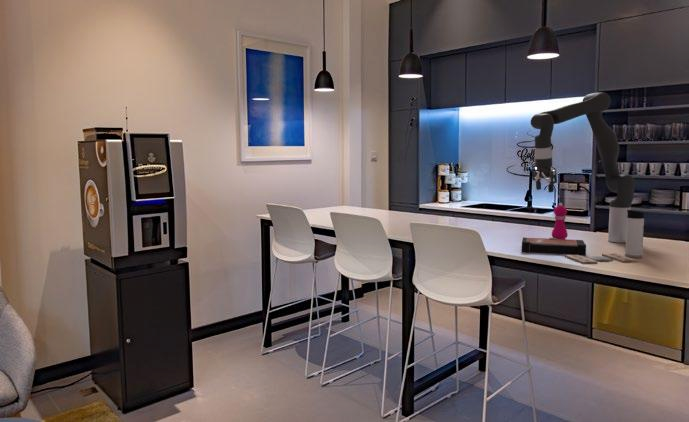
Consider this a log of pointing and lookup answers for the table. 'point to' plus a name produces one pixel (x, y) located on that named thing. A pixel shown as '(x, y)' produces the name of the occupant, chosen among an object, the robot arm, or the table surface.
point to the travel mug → (634, 234)
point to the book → (553, 246)
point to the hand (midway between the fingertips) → (544, 190)
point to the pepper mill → (560, 222)
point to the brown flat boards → (600, 258)
